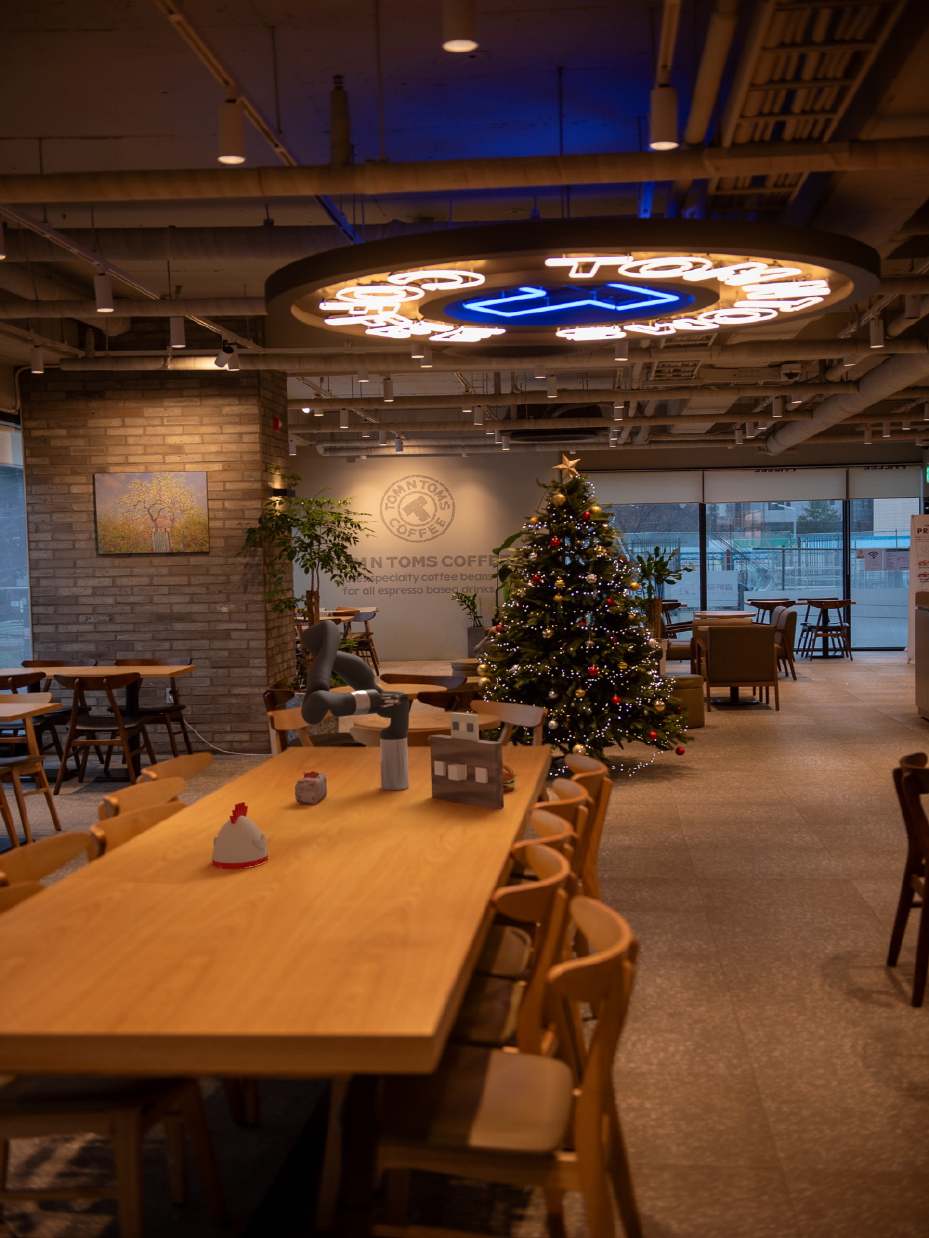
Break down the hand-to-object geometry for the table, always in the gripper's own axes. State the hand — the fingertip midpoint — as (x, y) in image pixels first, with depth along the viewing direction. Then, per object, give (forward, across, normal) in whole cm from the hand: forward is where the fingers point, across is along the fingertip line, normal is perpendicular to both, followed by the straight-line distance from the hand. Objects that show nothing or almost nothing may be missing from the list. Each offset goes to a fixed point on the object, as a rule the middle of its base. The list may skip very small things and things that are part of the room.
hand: (406, 697), depth 337 cm
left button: (+14, 0, +26) cm, 30 cm away
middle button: (+11, -10, +26) cm, 30 cm away
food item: (-18, +30, +34) cm, 49 cm away
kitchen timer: (-73, -23, +34) cm, 84 cm away
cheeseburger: (+37, -3, +34) cm, 50 cm away
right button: (+14, -20, +26) cm, 36 cm away
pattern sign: (+15, -10, +14) cm, 23 cm away
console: (+15, -10, +34) cm, 38 cm away
